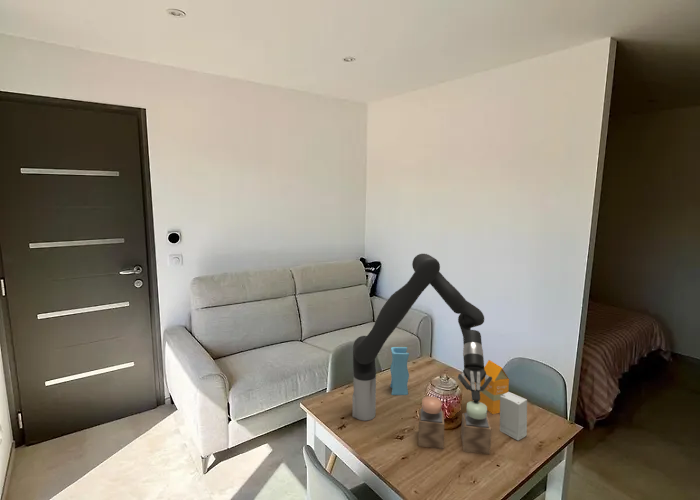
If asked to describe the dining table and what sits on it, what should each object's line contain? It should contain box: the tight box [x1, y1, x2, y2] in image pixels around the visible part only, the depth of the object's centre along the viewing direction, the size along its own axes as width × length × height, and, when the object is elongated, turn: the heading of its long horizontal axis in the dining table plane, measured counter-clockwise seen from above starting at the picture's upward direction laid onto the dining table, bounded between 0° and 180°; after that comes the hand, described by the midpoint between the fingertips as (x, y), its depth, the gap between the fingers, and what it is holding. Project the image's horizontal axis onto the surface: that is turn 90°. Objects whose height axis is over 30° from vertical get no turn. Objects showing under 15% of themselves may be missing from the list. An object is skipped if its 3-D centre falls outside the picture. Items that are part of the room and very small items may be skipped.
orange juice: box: [479, 359, 510, 415], centre depth 164 cm, size 8×9×20 cm
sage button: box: [465, 400, 488, 419], centre depth 139 cm, size 7×7×3 cm
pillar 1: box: [417, 408, 445, 450], centre depth 143 cm, size 9×9×10 cm
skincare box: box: [499, 391, 528, 441], centre depth 147 cm, size 8×6×15 cm
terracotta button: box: [421, 395, 442, 414], centre depth 142 cm, size 7×7×3 cm
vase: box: [389, 346, 410, 396], centre depth 179 cm, size 8×8×20 cm
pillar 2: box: [460, 412, 492, 455], centre depth 140 cm, size 9×9×10 cm
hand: (476, 401), depth 141 cm, fingers closed
